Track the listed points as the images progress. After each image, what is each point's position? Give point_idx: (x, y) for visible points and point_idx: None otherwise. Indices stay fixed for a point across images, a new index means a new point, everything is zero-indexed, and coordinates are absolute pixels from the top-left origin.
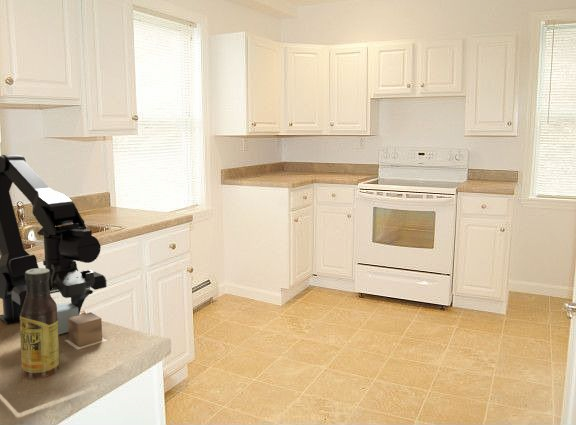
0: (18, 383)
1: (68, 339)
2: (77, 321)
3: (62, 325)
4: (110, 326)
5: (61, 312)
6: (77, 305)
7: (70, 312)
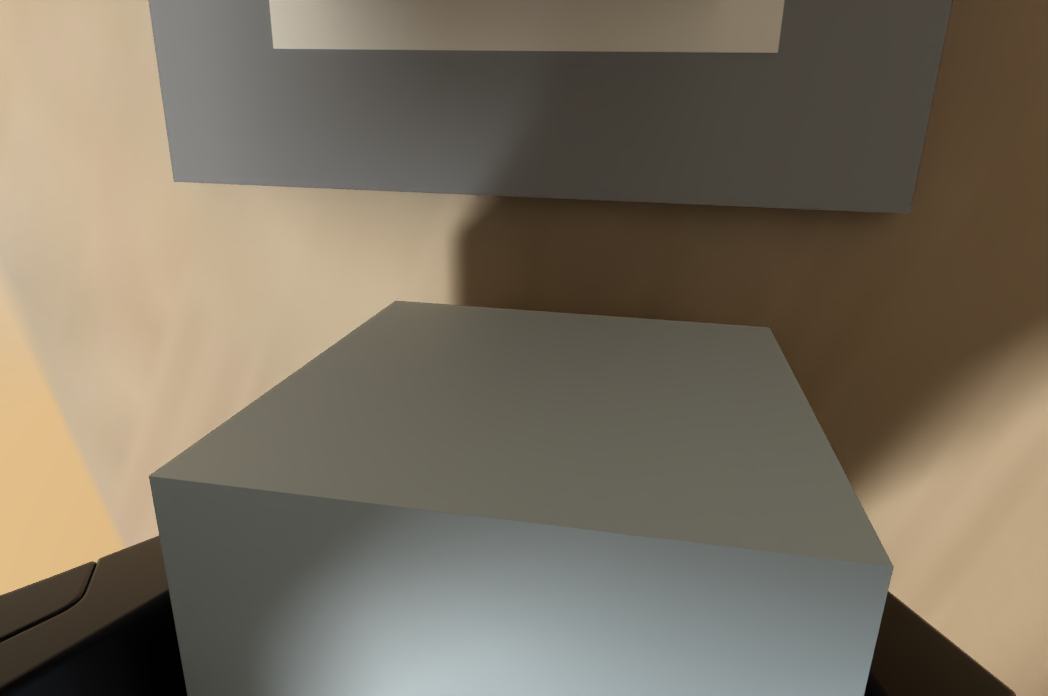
0: None
1: (708, 36)
2: None
3: (661, 367)
4: (17, 185)
5: (672, 522)
6: (121, 615)
7: (414, 460)
